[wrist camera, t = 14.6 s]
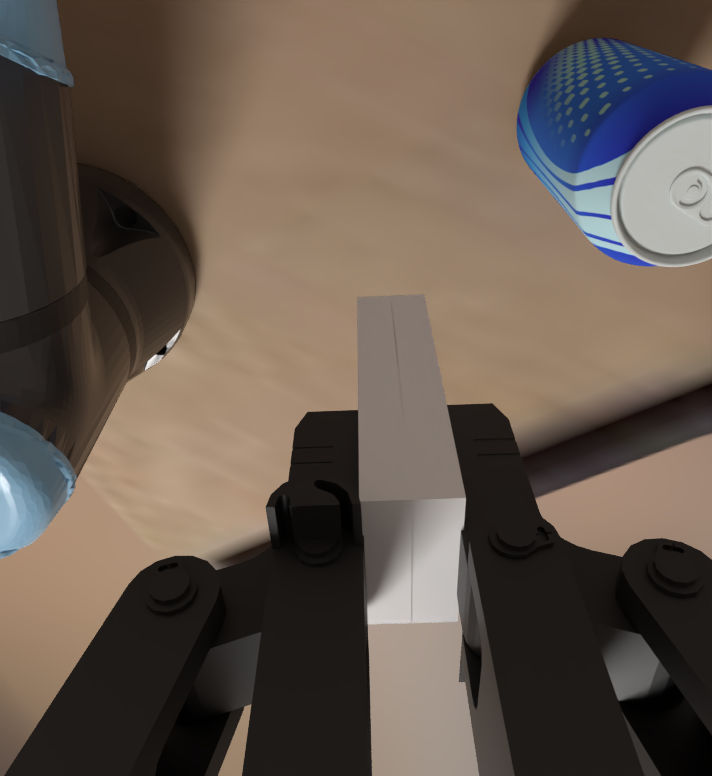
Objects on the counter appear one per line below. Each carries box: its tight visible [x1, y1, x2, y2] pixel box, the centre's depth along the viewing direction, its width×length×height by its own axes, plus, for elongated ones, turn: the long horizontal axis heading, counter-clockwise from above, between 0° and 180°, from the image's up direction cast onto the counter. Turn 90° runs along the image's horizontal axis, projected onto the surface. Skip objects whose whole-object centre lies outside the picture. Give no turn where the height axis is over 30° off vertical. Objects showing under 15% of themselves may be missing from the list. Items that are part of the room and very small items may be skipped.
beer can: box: [517, 38, 712, 267], centre depth 33 cm, size 8×8×16 cm
